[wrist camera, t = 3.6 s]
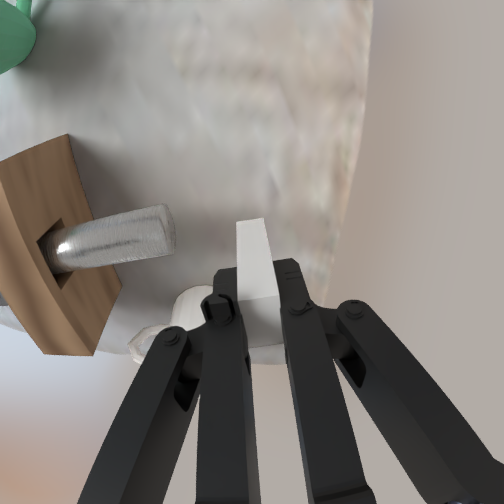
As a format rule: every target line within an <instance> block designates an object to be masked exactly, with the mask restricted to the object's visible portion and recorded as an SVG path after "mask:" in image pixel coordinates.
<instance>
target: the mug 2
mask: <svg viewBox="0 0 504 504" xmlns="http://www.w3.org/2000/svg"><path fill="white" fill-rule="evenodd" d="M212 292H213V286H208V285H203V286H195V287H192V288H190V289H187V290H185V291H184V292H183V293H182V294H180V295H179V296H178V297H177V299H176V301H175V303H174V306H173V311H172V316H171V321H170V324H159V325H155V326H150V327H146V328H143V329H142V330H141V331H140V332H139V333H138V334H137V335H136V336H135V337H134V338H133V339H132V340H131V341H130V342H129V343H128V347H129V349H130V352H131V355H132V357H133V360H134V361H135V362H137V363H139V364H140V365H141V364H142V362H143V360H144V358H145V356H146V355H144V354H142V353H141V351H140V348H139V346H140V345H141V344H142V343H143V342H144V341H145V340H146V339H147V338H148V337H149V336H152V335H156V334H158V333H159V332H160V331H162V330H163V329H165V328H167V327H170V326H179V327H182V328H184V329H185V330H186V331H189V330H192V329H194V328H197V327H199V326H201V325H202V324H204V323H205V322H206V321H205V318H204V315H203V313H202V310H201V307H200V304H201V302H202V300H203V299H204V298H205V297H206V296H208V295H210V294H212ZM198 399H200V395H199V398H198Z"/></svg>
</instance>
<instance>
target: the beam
mask: <svg viewBox="0 0 504 504" xmlns="http://www.w3.org/2000/svg"><path fill="white" fill-rule="evenodd" d="M92 220H94V219H93V216H92V213H91V211H90V208H89V205H88V202H87V199H86V196H85V193H84V190H83V187H82V184H81V181H80V178H79V175H78V171H77V168H76V164H75V161H74V157H73V154H72V150H71V146H70V142H69V138H68V134H65V135H62V136H59V137H57V138H54V139H51V140H49V141H46V142H44V143H41V144H39V145H36V146H34V147H31V148H29V149H27V150H24V151H22V152H20V153H18V154H16V155H13V156H11V157H9V158H7V159H5V160H3V161H1V162H0V292H1V294H2V295H3V297H4V299H5V300H6V302H7V303H8V305H9V307H10V308H11V310H12V311H13V313H14V314H15V316H16V317H17V319H18V320H19V322H20V323H21V324H22V326H23V327H24V329H25V330H26V331H27V333H28V334H29V335H30V337H31V338H32V339H33V341H34V342H35V343H36V345H37V346H38V347H39V348H40V350H41V351H42V352H43V353H44V354H49V355H69V356H70V355H71V356H93V355H94V352H95V350H96V347H97V344H98V342H99V339H100V337H101V334H102V332H103V329H104V327H105V324H106V322H107V319H108V317H109V315H110V312H111V310H112V308H113V305H114V303H115V301H116V299H117V296H118V294H119V292H120V290H121V288H122V285H121V283H120V281H119V278H118V276H117V274H116V272H115V270H114V268H113V265H112V264H111V265H105V266H99V267H94V268H88V269H82V270H76V271H70V272H65V273H59V274H53V275H52V273H51V271H50V270H49V268H48V266H47V264H46V262H45V260H44V258H43V256H42V253H41V251H40V249H39V247H38V245H37V243H36V241H37V240H38V239H39V238H40V237H41V236H42V235H43V234H45V233H48V232H52V231H55V230H59V229H62V228H66V227H69V226H73V225H77V224H80V223H84V222H88V221H92Z"/></svg>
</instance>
